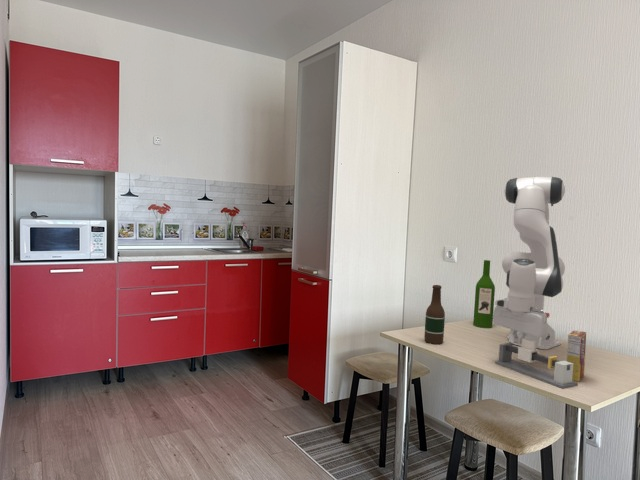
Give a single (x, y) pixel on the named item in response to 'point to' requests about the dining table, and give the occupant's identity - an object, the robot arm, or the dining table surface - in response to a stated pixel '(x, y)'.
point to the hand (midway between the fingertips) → (517, 343)
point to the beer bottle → (435, 318)
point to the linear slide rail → (559, 378)
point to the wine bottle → (484, 299)
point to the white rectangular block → (527, 350)
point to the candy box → (577, 353)
